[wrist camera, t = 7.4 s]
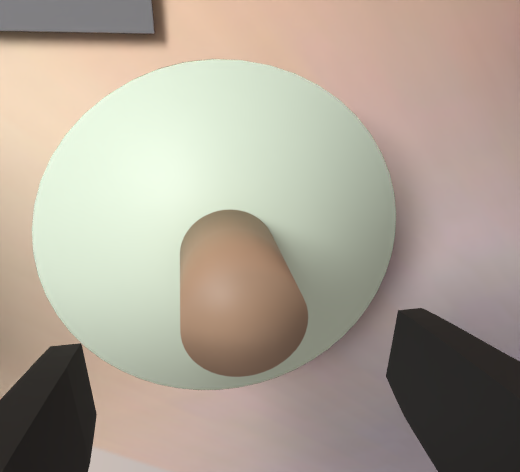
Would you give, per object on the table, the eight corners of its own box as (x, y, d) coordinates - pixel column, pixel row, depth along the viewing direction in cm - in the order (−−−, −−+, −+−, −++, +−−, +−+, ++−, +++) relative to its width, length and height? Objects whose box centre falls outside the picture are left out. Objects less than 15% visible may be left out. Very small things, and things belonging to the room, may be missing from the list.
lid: (85, 396, 16) (50, 524, 12) (-12, 68, 11) (-135, 79, 7) (371, 352, 18) (432, 447, 13) (403, 51, 13) (518, 52, 8)
